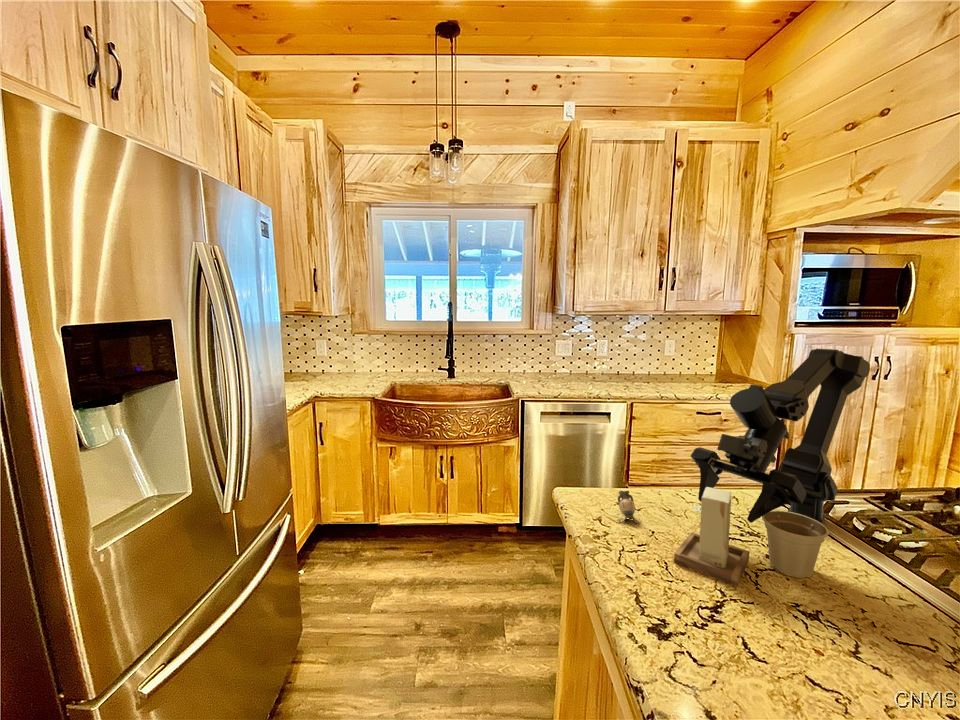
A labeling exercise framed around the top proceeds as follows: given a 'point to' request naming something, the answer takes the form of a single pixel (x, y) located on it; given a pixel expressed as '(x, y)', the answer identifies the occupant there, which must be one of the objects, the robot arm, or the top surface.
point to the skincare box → (715, 526)
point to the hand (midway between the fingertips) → (723, 510)
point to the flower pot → (793, 542)
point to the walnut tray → (690, 559)
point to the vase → (626, 506)
